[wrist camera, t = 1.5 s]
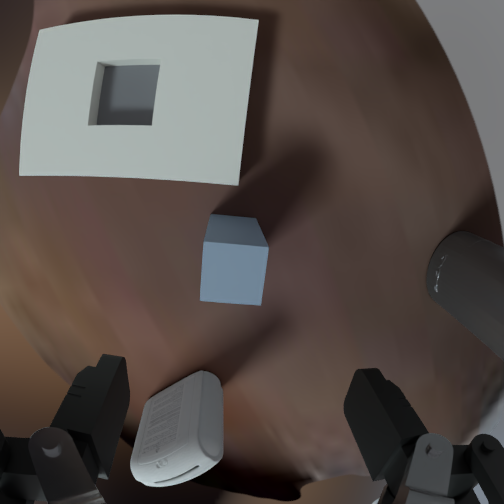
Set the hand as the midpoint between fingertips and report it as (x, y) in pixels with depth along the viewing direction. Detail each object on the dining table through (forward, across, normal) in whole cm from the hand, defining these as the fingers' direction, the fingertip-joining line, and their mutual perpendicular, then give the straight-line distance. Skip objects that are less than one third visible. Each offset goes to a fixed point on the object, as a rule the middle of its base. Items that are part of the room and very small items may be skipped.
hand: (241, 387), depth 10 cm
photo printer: (+20, +4, +19) cm, 28 cm away
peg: (+20, 0, 0) cm, 20 cm away
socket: (+20, +10, -12) cm, 25 cm away
